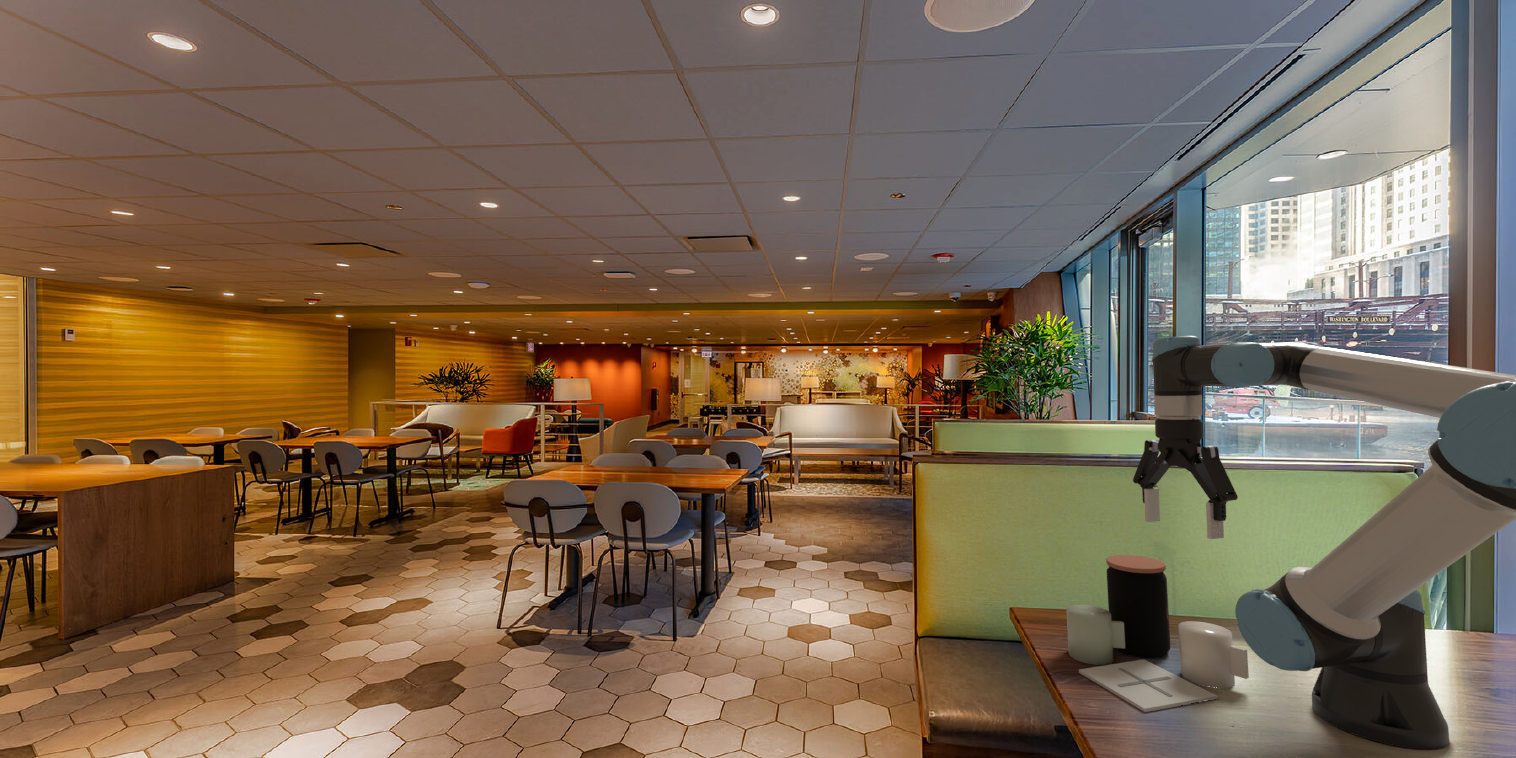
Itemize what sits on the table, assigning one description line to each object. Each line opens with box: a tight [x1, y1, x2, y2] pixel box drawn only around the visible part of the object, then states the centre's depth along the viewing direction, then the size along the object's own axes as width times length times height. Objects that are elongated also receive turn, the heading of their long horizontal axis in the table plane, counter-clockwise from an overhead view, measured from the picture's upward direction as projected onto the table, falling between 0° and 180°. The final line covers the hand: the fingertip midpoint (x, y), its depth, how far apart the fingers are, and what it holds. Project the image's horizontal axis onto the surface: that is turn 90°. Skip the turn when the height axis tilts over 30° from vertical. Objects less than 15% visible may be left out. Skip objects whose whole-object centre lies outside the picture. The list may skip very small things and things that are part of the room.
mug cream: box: [1178, 620, 1250, 689], centre depth 111 cm, size 10×8×9 cm
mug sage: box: [1065, 604, 1125, 666], centre depth 122 cm, size 10×8×9 cm
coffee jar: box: [1105, 554, 1171, 659], centre depth 125 cm, size 11×11×18 cm
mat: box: [1078, 659, 1218, 713], centre depth 110 cm, size 15×15×1 cm
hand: (1182, 529), depth 114 cm, fingers open, 13 cm apart
